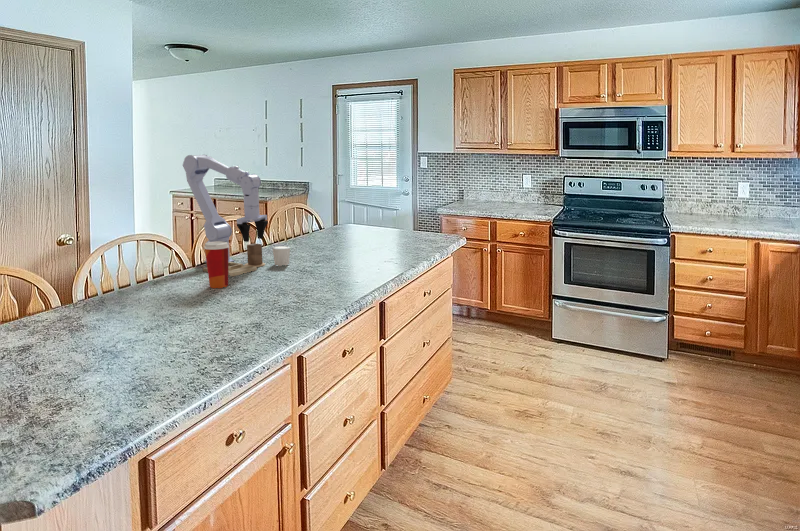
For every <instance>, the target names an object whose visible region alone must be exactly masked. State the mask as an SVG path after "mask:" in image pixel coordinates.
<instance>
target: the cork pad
mask: <svg viewBox="0 0 800 531" xmlns="http://www.w3.org/2000/svg"><path fill="white" fill-rule="evenodd" d="M243 265H246V266H253V265H248V262H247V263H245V264H243ZM261 266H262V267H264V266H266V263H265V262H263V264H261V265H257V266H253V267H257V268H261Z"/></svg>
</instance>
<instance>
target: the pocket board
mask: <svg viewBox="0 0 800 531" xmlns="http://www.w3.org/2000/svg"><path fill="white" fill-rule="evenodd" d="M257 270H258V267H253V266H246V265H244V264H243V263H239V262H235V261H233V262H228V275H230V277H236V276H240V275H243V273H244V274H247V272H248V273H251V271H252V272H255V271H257ZM202 271H203V272H205V273H208V269H207V266H206V267H203V268H202Z"/></svg>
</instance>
